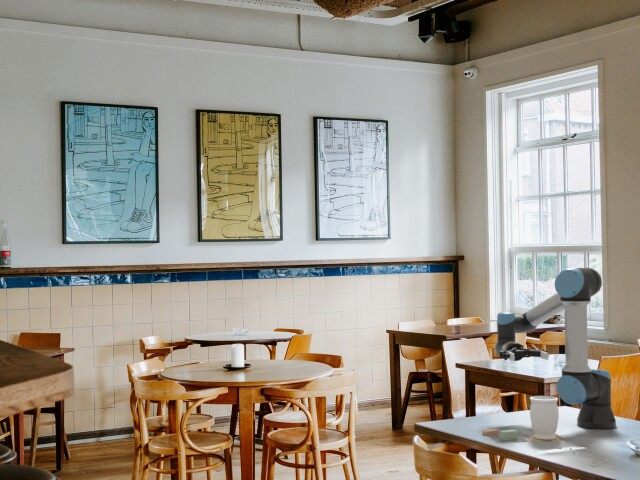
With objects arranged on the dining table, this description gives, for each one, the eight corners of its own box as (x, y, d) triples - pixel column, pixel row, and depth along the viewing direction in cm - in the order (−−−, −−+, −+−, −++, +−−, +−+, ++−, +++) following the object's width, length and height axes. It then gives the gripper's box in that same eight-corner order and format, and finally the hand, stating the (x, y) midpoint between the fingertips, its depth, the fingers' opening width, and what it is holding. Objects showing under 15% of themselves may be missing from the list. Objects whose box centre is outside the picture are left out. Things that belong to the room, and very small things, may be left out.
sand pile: (556, 437, 313) (556, 434, 313) (567, 444, 301) (567, 440, 301) (522, 438, 312) (522, 435, 312) (533, 445, 300) (533, 441, 300)
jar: (560, 441, 301) (559, 400, 301) (531, 440, 303) (530, 399, 303) (557, 435, 311) (556, 395, 312) (529, 434, 313) (529, 395, 314)
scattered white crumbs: (590, 452, 290) (590, 447, 290) (616, 469, 265) (616, 465, 265) (570, 452, 290) (570, 448, 290) (594, 470, 265) (594, 465, 265)
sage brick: (512, 437, 308) (512, 429, 308) (517, 438, 306) (517, 430, 306) (499, 438, 306) (499, 430, 306) (504, 440, 303) (504, 432, 303)
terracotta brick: (495, 436, 317) (495, 428, 317) (500, 438, 314) (499, 430, 314) (482, 437, 315) (482, 430, 315) (486, 439, 312) (486, 431, 312)
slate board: (519, 438, 312) (519, 435, 312) (529, 445, 300) (529, 441, 300) (488, 439, 311) (488, 436, 311) (497, 446, 299) (497, 442, 299)
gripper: (542, 359, 344) (561, 365, 323) (484, 360, 343) (499, 366, 321) (542, 341, 345) (561, 346, 324) (484, 342, 343) (499, 347, 322)
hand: (530, 356), depth 322 cm, fingers open, 13 cm apart
